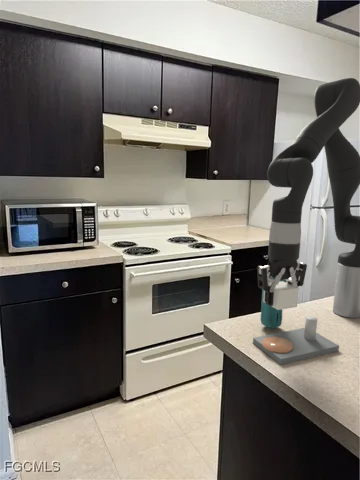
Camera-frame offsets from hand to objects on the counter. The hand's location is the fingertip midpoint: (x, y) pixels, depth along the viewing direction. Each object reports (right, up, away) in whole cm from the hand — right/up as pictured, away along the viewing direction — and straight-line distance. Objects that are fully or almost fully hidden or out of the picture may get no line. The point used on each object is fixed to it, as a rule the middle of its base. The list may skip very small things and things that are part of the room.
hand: (279, 303), depth 89 cm
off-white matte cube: (0, 0, 0) cm, 0 cm away
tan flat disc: (0, -12, +2) cm, 12 cm away
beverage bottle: (+2, -11, +16) cm, 20 cm away
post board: (+6, -13, +5) cm, 15 cm away
